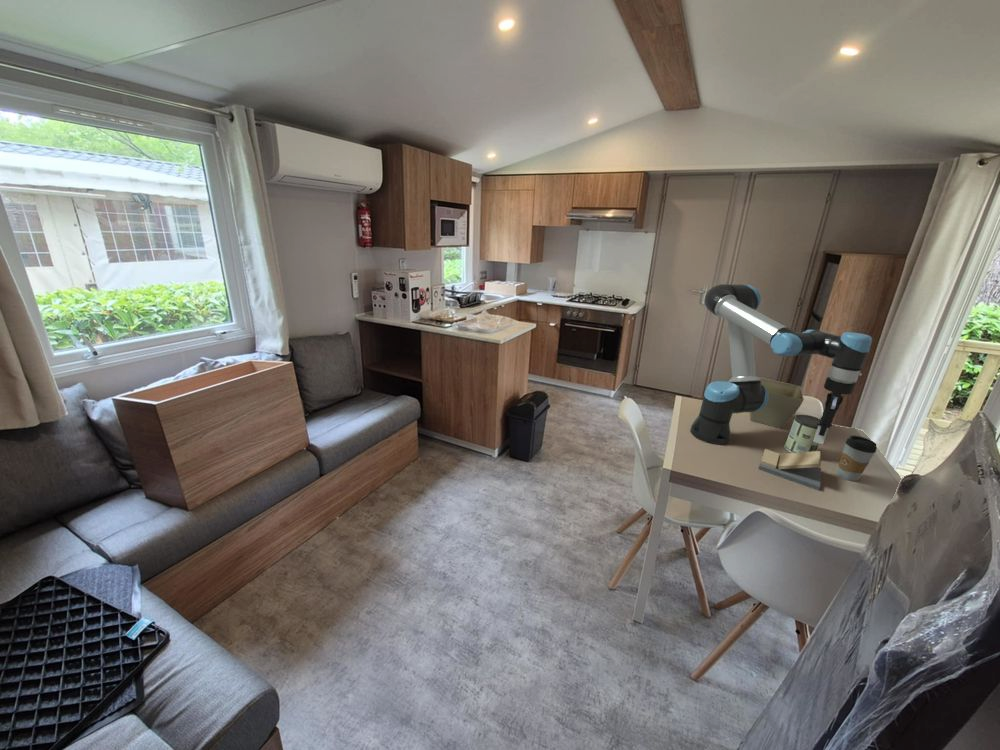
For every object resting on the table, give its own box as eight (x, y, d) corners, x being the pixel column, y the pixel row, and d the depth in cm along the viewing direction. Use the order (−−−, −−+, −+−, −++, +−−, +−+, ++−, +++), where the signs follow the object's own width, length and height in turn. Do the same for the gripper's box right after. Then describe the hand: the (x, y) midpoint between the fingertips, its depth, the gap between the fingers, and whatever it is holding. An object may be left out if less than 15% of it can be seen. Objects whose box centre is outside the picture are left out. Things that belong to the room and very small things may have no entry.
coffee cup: (826, 469, 147) (841, 434, 141) (846, 469, 147) (862, 434, 142) (846, 483, 139) (863, 447, 133) (867, 483, 140) (885, 447, 134)
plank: (779, 469, 142) (778, 466, 142) (781, 456, 150) (780, 453, 150) (820, 466, 134) (819, 463, 134) (821, 453, 142) (820, 450, 142)
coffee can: (806, 446, 162) (818, 416, 157) (819, 459, 153) (833, 428, 147) (779, 442, 164) (790, 412, 159) (791, 455, 154) (803, 424, 149)
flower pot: (791, 434, 171) (804, 399, 165) (741, 421, 180) (752, 388, 174) (789, 418, 186) (801, 386, 180) (743, 407, 195) (753, 376, 189)
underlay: (758, 469, 144) (760, 462, 143) (763, 452, 155) (765, 446, 154) (818, 490, 134) (821, 483, 133) (819, 471, 145) (822, 465, 144)
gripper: (857, 388, 121) (831, 453, 129) (855, 377, 131) (831, 439, 139) (826, 381, 126) (803, 445, 134) (827, 372, 135) (805, 432, 143)
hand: (818, 442), depth 136 cm, fingers closed
